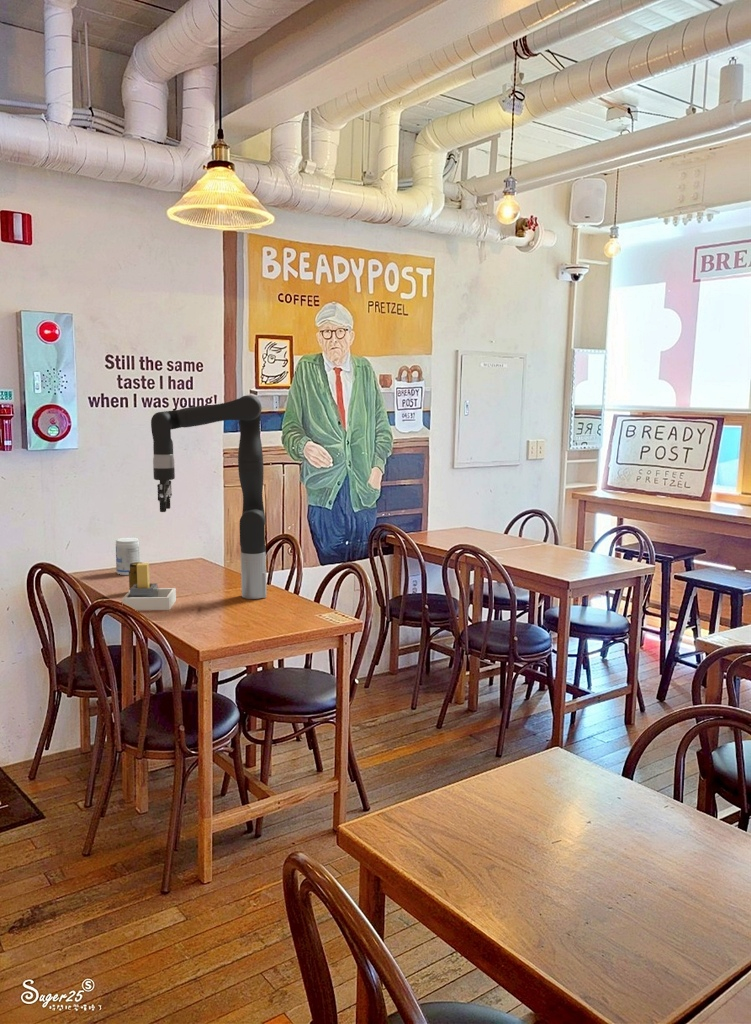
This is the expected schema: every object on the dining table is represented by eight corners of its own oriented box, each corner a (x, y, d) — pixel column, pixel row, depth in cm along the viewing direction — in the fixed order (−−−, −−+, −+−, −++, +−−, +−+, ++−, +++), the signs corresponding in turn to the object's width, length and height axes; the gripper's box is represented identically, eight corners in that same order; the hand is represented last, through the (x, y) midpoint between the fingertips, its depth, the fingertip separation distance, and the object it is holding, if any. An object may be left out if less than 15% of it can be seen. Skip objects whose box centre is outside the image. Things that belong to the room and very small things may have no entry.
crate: (176, 601, 299) (175, 588, 298) (169, 611, 285) (168, 597, 284) (131, 601, 298) (131, 588, 297) (123, 612, 284) (122, 598, 283)
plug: (150, 595, 293) (148, 563, 291) (148, 598, 289) (147, 565, 287) (139, 595, 292) (138, 563, 291) (137, 598, 289) (136, 565, 287)
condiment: (142, 591, 314) (141, 560, 312) (152, 595, 308) (151, 564, 306) (124, 594, 310) (123, 563, 308) (133, 598, 303) (132, 567, 301)
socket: (158, 602, 296) (157, 583, 294) (153, 607, 288) (152, 588, 287) (135, 602, 295) (134, 583, 294) (130, 608, 287) (129, 588, 286)
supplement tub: (112, 573, 344) (110, 539, 342) (131, 569, 351) (130, 536, 349) (125, 576, 338) (124, 542, 336) (144, 573, 345) (143, 539, 343)
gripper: (170, 468, 291) (172, 513, 293) (177, 464, 305) (178, 507, 307) (149, 468, 290) (151, 513, 292) (157, 464, 304) (158, 507, 307)
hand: (165, 510), depth 300 cm, fingers open, 8 cm apart
